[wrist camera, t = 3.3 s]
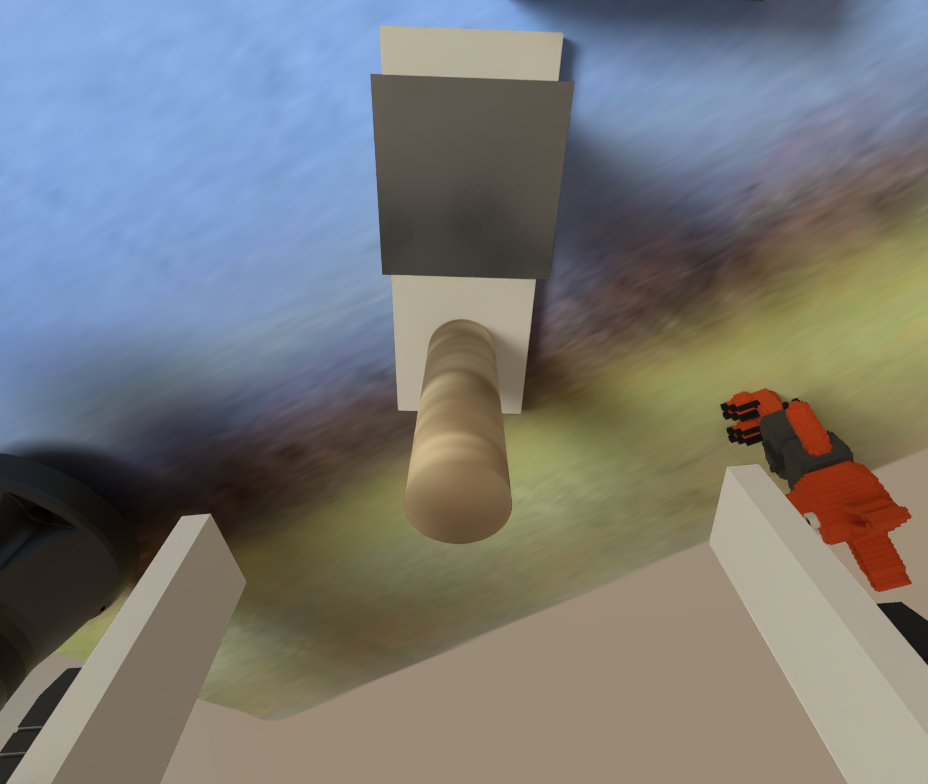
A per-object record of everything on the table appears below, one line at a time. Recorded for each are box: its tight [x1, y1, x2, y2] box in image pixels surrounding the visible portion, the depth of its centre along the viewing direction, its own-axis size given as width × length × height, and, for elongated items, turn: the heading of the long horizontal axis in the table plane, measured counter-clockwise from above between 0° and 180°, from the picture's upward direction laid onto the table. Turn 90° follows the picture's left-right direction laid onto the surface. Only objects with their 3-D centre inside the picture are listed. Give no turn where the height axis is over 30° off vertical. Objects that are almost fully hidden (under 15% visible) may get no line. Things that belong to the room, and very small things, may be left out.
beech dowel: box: [404, 319, 512, 544], centre depth 23 cm, size 4×4×13 cm
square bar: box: [371, 74, 574, 280], centre depth 18 cm, size 5×5×13 cm
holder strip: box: [379, 26, 564, 414], centre depth 26 cm, size 8×20×1 cm, turn 178°
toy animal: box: [721, 389, 912, 592], centre depth 27 cm, size 8×6×12 cm
